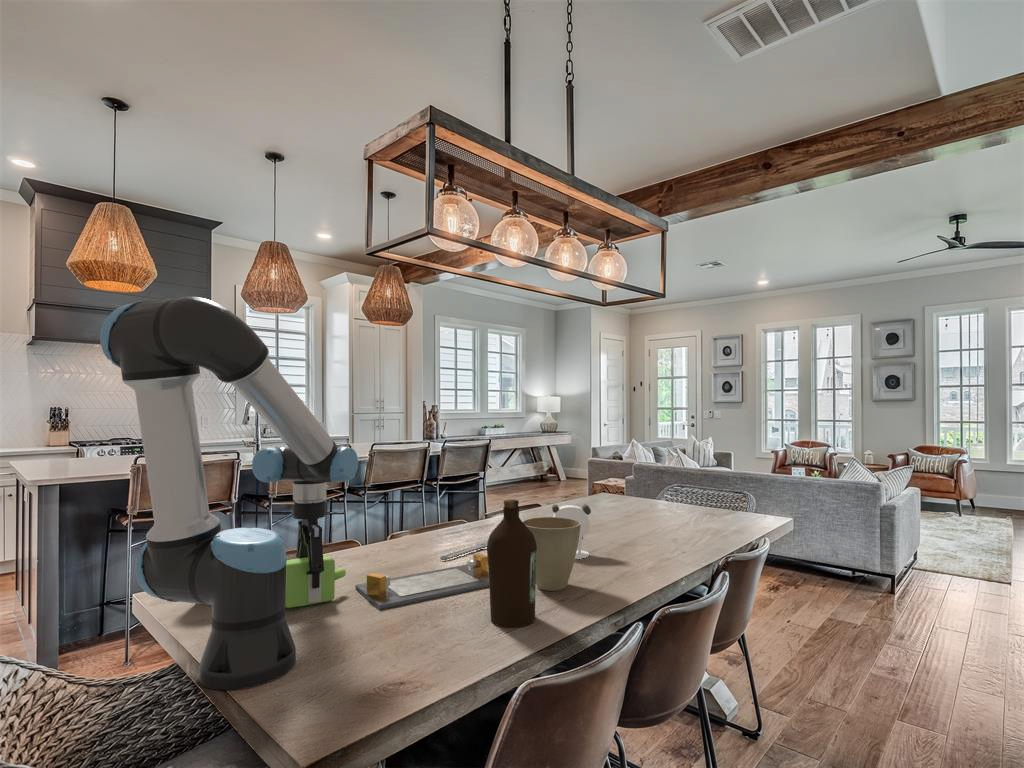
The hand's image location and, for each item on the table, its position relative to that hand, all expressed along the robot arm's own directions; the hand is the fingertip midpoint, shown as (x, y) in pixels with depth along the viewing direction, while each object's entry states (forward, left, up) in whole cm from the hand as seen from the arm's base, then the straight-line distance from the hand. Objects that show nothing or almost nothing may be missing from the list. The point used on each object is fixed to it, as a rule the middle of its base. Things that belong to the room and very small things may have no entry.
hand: (309, 595), depth 131 cm
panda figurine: (-4, -76, -1) cm, 76 cm away
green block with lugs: (0, 0, -1) cm, 1 cm away
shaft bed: (-7, -28, -1) cm, 29 cm away
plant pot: (-25, -53, -1) cm, 59 cm away
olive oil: (-38, -33, -1) cm, 50 cm away
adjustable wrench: (+18, -53, -2) cm, 56 cm away
